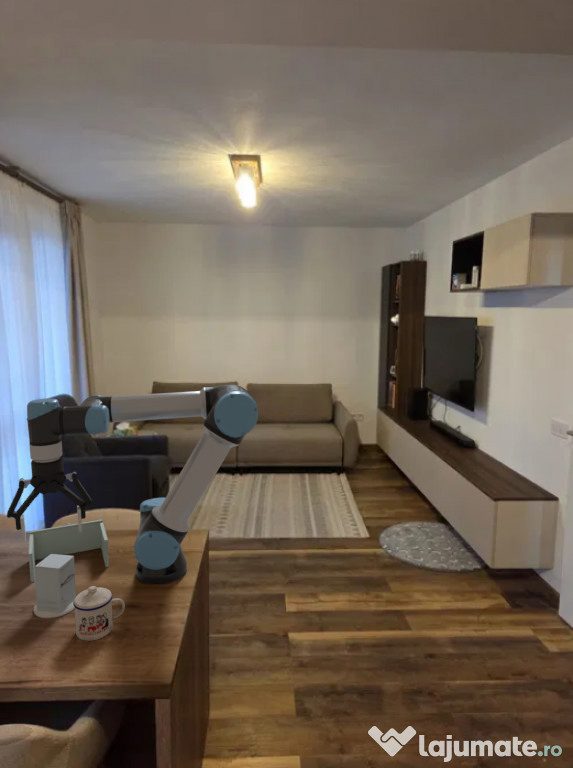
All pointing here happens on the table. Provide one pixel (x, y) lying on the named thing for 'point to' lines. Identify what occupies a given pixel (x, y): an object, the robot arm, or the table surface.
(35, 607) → the coaster
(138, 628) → the table surface
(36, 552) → the three-sided green enclosure
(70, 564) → the supplement box
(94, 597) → the teacup with lid
